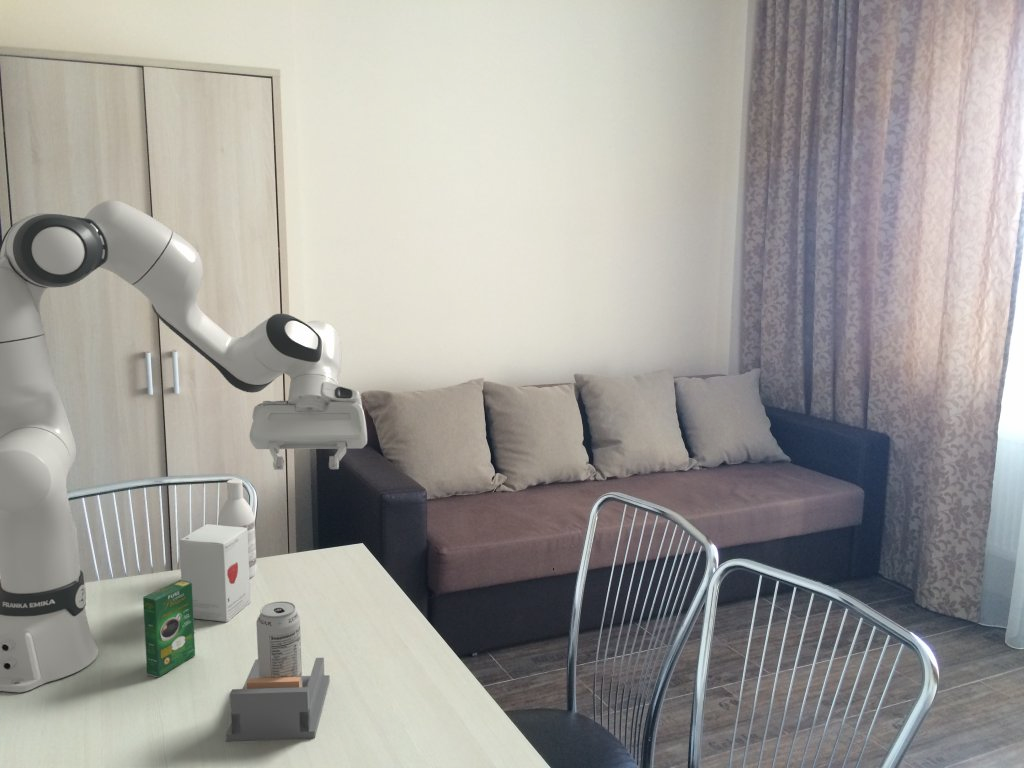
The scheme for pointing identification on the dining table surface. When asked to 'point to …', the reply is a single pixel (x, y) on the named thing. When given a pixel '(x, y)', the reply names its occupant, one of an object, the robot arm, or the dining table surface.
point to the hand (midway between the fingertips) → (305, 467)
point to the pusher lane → (278, 708)
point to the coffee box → (169, 627)
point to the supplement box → (216, 570)
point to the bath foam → (240, 518)
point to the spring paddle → (274, 682)
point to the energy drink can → (279, 641)
